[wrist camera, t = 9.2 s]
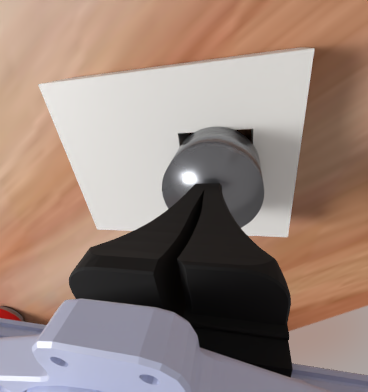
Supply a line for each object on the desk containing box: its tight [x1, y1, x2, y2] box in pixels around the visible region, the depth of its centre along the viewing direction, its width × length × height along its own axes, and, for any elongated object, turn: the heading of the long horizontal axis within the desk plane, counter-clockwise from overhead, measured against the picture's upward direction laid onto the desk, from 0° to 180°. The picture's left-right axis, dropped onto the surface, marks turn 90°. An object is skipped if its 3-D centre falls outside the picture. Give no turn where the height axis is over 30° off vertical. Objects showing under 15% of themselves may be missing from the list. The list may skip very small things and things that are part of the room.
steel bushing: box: [162, 127, 264, 228], centre depth 15 cm, size 6×6×6 cm
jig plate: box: [38, 47, 315, 237], centre depth 17 cm, size 12×16×3 cm
